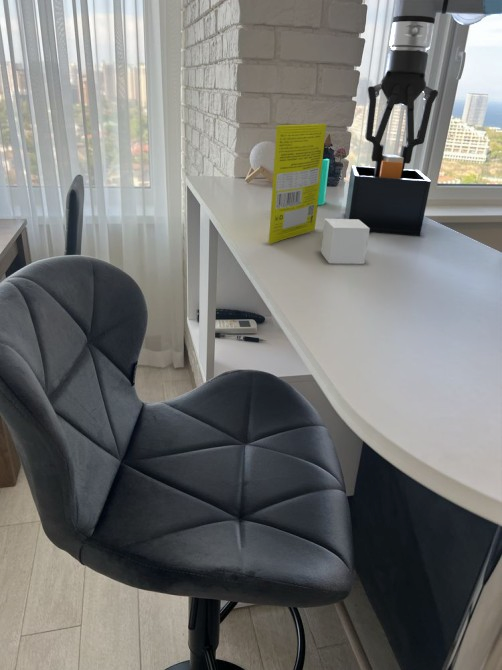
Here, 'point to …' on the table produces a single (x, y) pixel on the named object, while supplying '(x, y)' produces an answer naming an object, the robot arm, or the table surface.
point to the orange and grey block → (391, 166)
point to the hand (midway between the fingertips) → (387, 178)
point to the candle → (323, 181)
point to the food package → (296, 180)
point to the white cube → (344, 241)
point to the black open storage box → (388, 201)
